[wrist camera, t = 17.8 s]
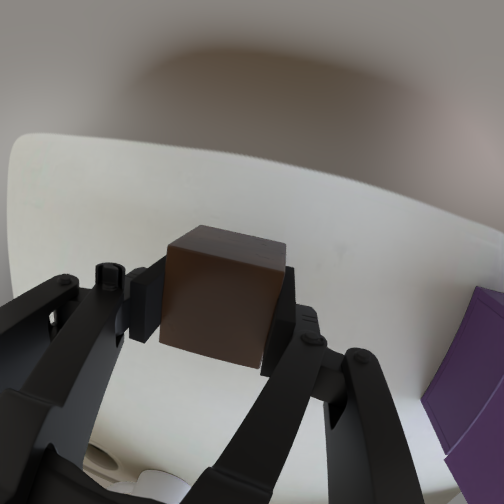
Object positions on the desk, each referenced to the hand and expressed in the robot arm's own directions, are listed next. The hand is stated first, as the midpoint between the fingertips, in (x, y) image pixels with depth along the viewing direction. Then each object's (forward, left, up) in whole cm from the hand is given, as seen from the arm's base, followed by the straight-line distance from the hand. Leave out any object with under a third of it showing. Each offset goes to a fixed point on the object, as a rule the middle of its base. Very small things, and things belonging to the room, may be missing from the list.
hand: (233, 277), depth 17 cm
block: (0, 0, 0) cm, 0 cm away
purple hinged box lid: (-21, -5, +13) cm, 26 cm away
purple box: (-28, -9, -5) cm, 29 cm away
